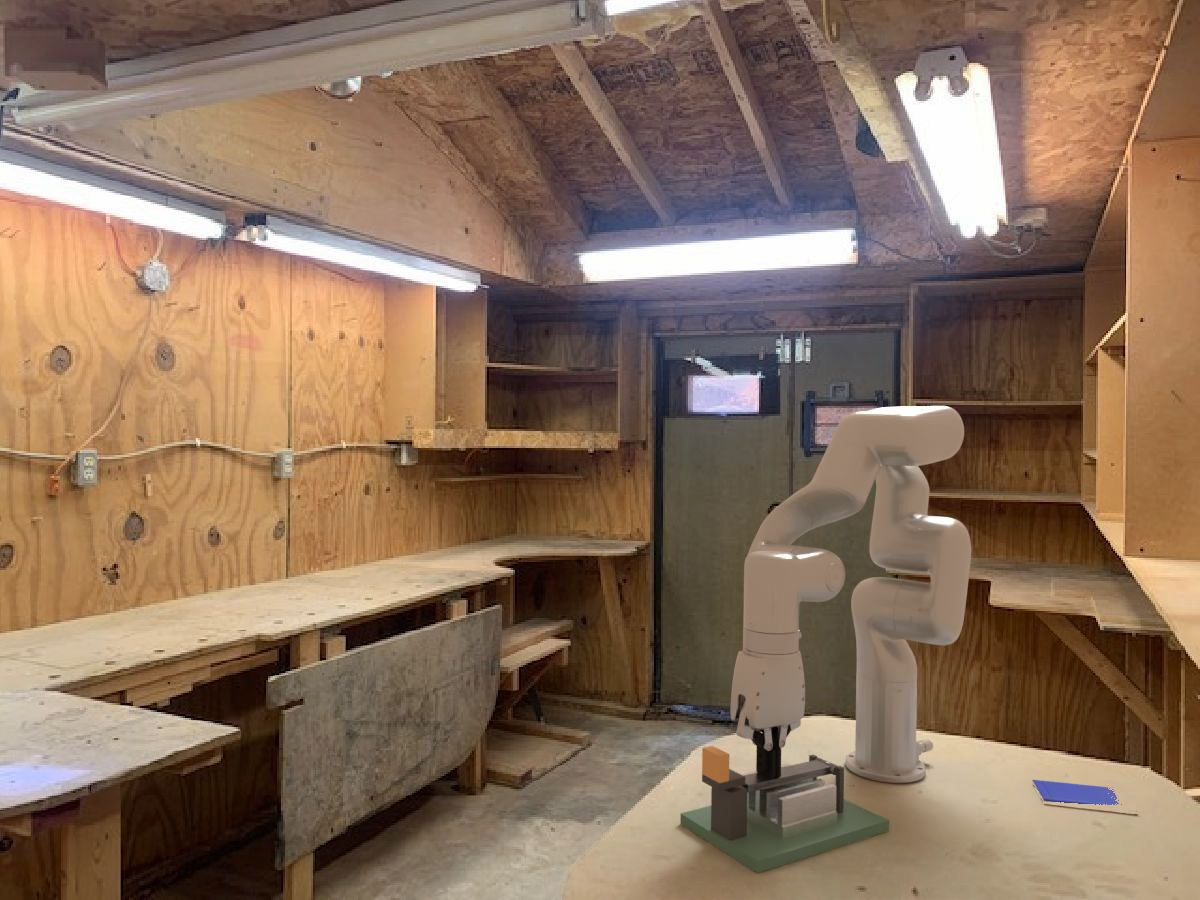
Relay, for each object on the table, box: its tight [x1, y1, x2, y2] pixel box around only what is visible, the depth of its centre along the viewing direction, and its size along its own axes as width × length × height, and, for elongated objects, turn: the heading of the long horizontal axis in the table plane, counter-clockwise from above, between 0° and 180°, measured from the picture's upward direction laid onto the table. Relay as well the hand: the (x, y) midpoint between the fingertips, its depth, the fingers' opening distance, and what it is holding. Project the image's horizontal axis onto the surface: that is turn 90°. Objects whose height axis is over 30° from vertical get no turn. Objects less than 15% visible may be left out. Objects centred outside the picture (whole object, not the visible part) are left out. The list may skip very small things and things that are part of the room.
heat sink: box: [740, 763, 837, 839], centre depth 120 cm, size 10×10×5 cm
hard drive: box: [1031, 779, 1122, 805], centre depth 132 cm, size 2×8×12 cm
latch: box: [701, 745, 745, 791], centre depth 114 cm, size 4×4×4 cm
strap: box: [741, 756, 838, 793], centre depth 120 cm, size 17×4×1 cm, turn 121°
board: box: [679, 754, 890, 874], centre depth 120 cm, size 24×16×8 cm, turn 121°
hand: (768, 775), depth 118 cm, fingers closed
